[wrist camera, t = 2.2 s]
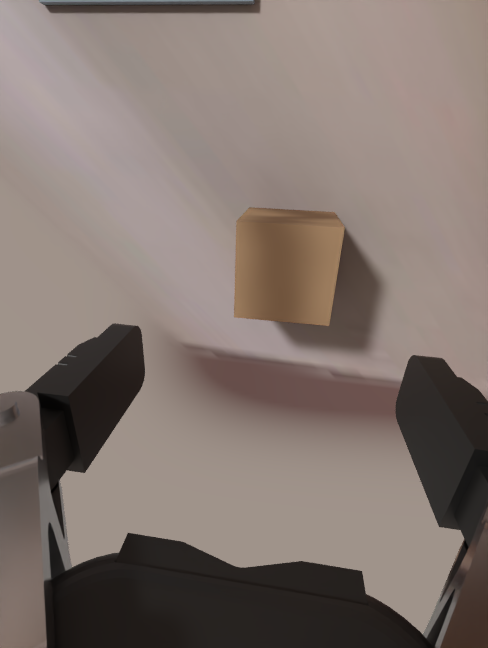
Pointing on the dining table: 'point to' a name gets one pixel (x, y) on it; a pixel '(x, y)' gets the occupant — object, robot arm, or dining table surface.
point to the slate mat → (141, 2)
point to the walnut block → (287, 265)
